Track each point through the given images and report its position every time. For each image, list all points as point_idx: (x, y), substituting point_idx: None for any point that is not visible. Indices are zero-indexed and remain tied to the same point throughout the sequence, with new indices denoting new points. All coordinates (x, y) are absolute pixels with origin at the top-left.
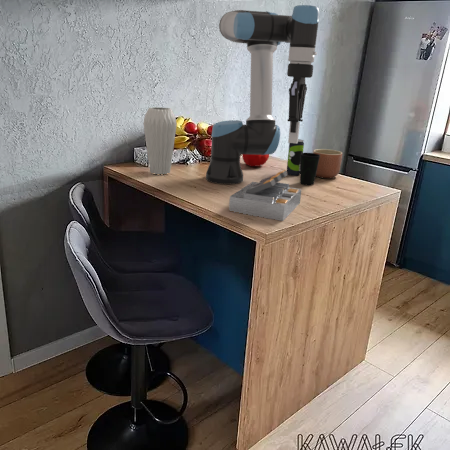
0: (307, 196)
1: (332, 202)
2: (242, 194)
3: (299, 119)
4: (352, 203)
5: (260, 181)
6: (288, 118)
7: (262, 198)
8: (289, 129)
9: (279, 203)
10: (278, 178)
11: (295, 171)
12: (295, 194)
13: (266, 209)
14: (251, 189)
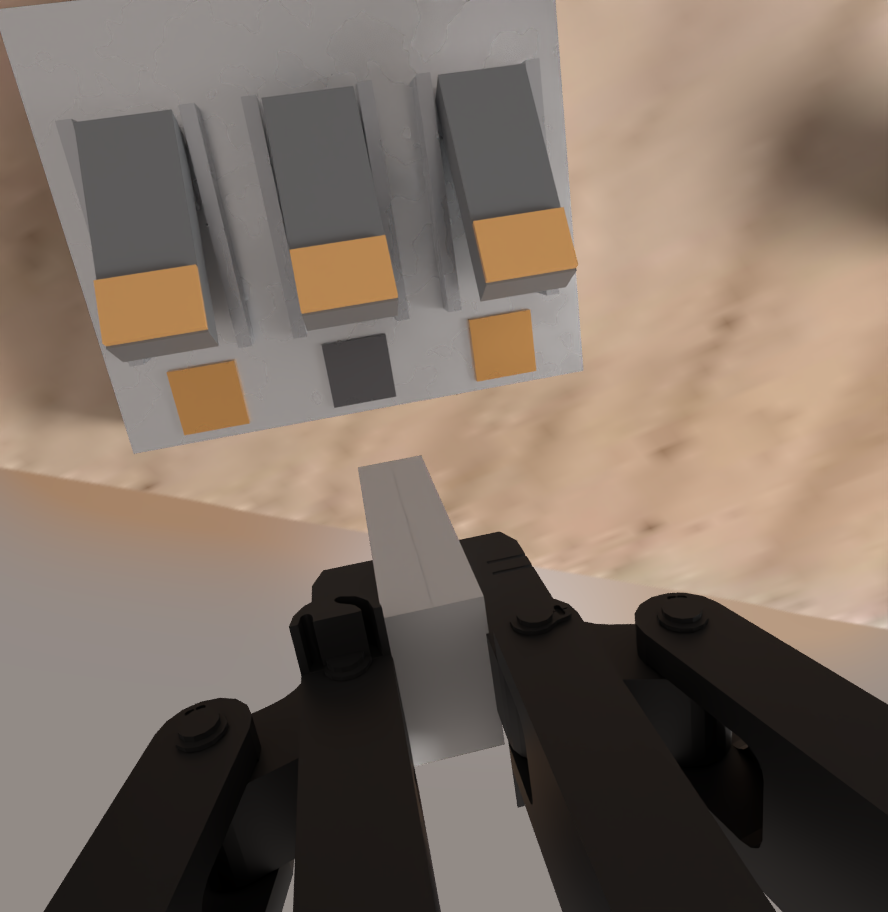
0: (708, 332)
1: (670, 491)
2: (135, 73)
3: (512, 769)
4: (711, 573)
5: (438, 84)
6: (182, 718)
7: None
8: (371, 544)
9: (150, 408)
10: (321, 320)
11: None
12: (427, 396)
13: None
14: (84, 175)
